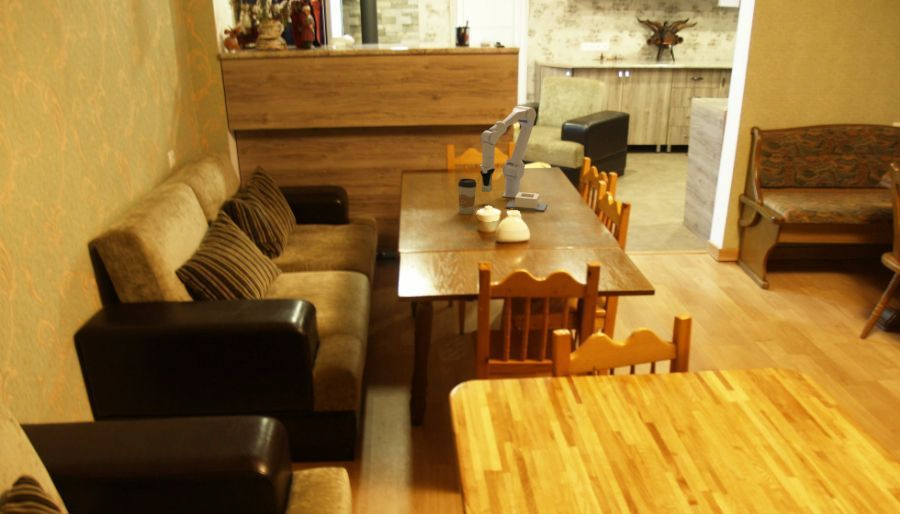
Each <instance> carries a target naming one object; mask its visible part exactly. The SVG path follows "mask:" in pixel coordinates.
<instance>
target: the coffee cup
mask: <svg viewBox="0 0 900 514" xmlns="http://www.w3.org/2000/svg"><path fill="white" fill-rule="evenodd" d="M457 186H458V208H459V209H458V210H459V211H458V212H459V213H460V214H462V215H472V214H473V212H474V208H475V207H474V206H475V201H476V191H477V182H476V179H474V178H460V179H459V181H458V184H457Z"/></svg>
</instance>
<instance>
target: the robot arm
mask: <svg viewBox="0 0 900 514" xmlns="http://www.w3.org/2000/svg"><path fill="white" fill-rule="evenodd" d="M536 118H537V111H536V110H535V108H534V107H530V106H523V105H520V104H519V105H518V104H517V105H516V106H514V108H513V109H512V111H511V112H510V113H509V115H507V117H506V118H504V120H502V121H496V122H495V124H494V125H493V126H491V127H490V128H489V129H488V130H484V131H483V132H482V133H481V134H480V138H479V139H480V141H481V145H482V152H481V153H482V154H481V155H482V158H481V159H482V160H481V164H479V166H478V167H480V168H481V169H482V170H480V171H479V172H480V175H481V179H482V178H483V184H484V186H488V185H489V181H490V177H491V174H492V176H493V175H494V172H495V170H496V168H495V153H496V151H495V149H496V144H497V143H498V142H499V139H500V137H501V136H502V135H503V134H505V133H506V132H507V129H508V127H510V126H511V125H513V124H514V123H515V122H518V124H519V125H520V130H519V133H518V136H517V139H516V142H515V145H514V147H513V151H512V154H511V157H509V158H507V159H506V162H505V164H504V165H503V167H502V174H503V175H504V178H505V182H504V193H503V194H502V197H504V198H511V199H513V198H514V199H515V197H516V195H517V194H518V192H520V190H521V187H520V186H521V180H522V178H523V177H524V174H525V168H526V165H525V163H524V162H523V158H524V156H525V152H526V149H527V146H528V143H529V140H530V137H531V134H532V132H533V128H534V125H535V121H536Z"/></svg>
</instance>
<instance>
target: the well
mask: <svg viewBox="0 0 900 514" xmlns="http://www.w3.org/2000/svg"><path fill="white" fill-rule="evenodd" d="M547 207H548V203H547V202H540V193H535V192H523V191H519V192H518V194H517V195H516V197H515V198H514V199H509V201H508V202H507V204H506V205H505V209H508V208H513V209H512V210H517V211H519V210H521V211H528V212H530V211H531V212H540V213H544V212H546V208H547Z"/></svg>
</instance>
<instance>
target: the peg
mask: <svg viewBox="0 0 900 514" xmlns="http://www.w3.org/2000/svg"><path fill="white" fill-rule="evenodd" d="M481 179H482V181H481V192H483V193H491V191H492V188H493V187H492V186H493V175H492V174H491V177H490V181H489V185H488V186H484V184H483V178H482V177H481Z"/></svg>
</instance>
